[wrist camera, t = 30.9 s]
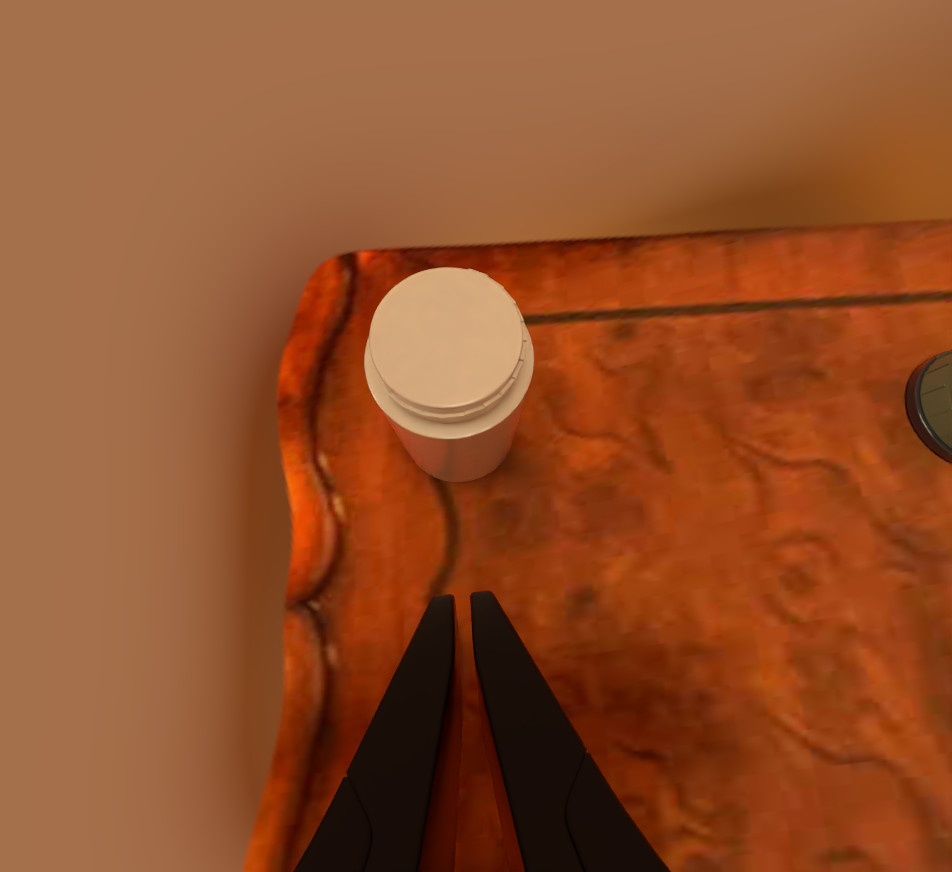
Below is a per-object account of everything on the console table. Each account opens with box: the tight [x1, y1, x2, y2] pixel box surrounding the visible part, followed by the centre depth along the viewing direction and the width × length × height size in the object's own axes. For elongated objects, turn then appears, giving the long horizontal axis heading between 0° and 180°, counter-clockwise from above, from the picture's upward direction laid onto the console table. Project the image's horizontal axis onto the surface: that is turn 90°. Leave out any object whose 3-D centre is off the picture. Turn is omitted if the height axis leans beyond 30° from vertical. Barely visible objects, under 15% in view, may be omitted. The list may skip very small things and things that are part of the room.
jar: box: [364, 267, 534, 482], centre depth 19 cm, size 6×6×10 cm
